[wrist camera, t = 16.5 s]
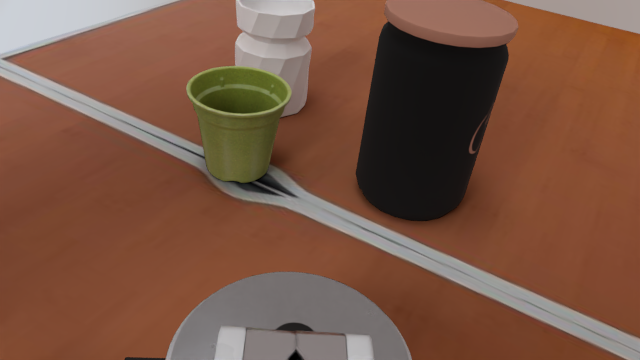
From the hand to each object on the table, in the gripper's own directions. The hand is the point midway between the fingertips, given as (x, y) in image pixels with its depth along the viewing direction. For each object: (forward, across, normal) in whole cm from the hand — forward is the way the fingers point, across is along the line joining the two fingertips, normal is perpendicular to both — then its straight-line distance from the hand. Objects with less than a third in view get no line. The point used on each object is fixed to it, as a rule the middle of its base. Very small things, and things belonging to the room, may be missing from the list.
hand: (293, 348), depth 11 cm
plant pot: (+38, +5, +22) cm, 44 cm away
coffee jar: (+36, -12, +22) cm, 44 cm away
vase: (+53, +2, +22) cm, 57 cm away
